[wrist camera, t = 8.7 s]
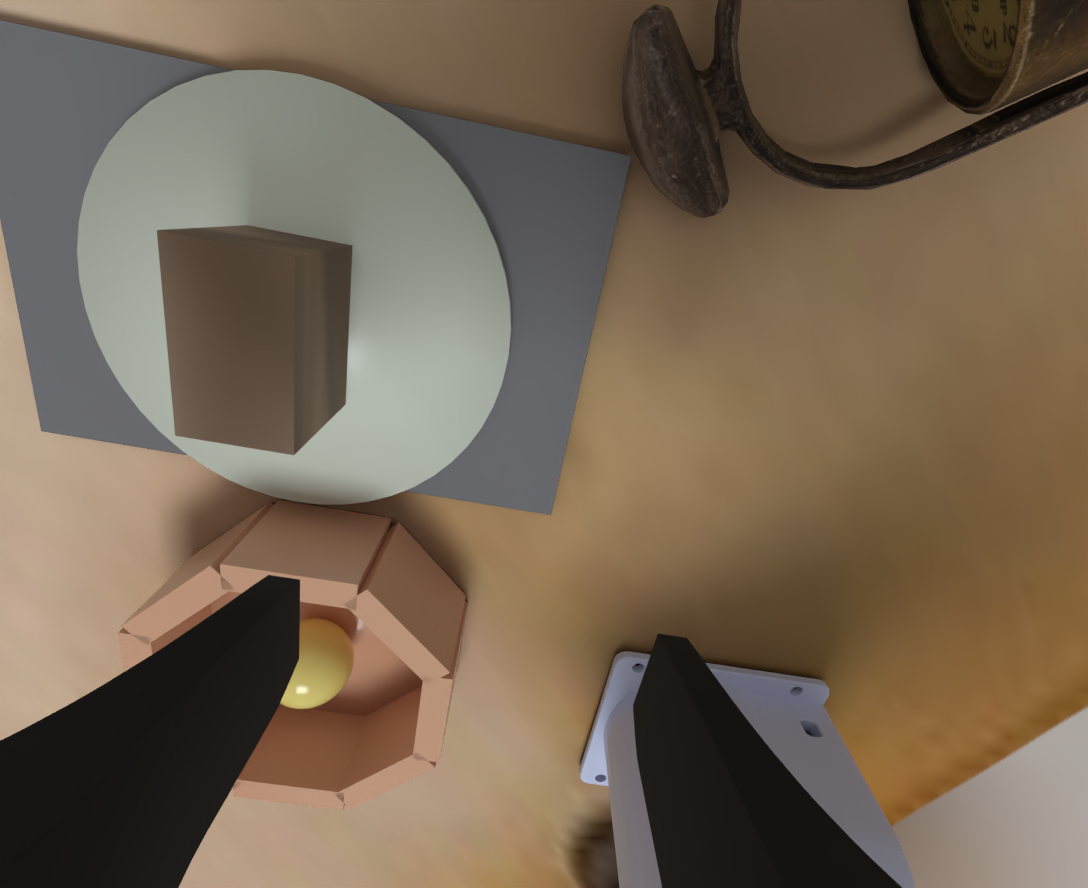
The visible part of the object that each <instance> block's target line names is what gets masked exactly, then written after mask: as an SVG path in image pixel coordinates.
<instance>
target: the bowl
mask: <svg viewBox="0 0 1088 888" xmlns="http://www.w3.org/2000/svg"><path fill="white" fill-rule="evenodd" d="M390 524H391V518H387V517H381V516H375V515H369V514H363V513H356V512H350V511H344V510H338V509H332V508H325V507H319V506H313V505H307V504H300V503H294V502H288V501H282V500H278V501H277V502H276V503H275V504H274V505H273V504H272V503H271V502H269V503H268V504H266V505H265V506H263V507H262V508H260V509H259V510H257V511H256V512H255V513H253V514H252V515H250V516H249V517H247V518H246V519H244V520H243V521H242V522H240V523H239V524H237V525H236V526H234V527H233V528H231V529H230V530H229V531H227V532H226V533H224V534H223V535H221V536H220V537H218V538H217V539H216V540H214V541H213V542H211V543H210V544H208V545H207V546H205V547H204V548H202V549H201V550H200V551H198V552H197V553H195V554H194V555H193V556H192V557H191V558H190V559H189V560H188V561H187V562H186V563H185V564H184V565H183V566H182V567H181V568H180V569H179V570H178V571H177V572H176V573H175V574H174V575H173V576H172V577H171V578H170V579H169V580H167V581H166V582H165V583H164V584H163V585H162V586H161V587H160V588H159V589H158V590H157V591H156V592H155V593H154V594H153V595H152V596H151V597H150V598H149V599H148V600H147V601H146V602H145V603H144V604H143V605H142V606H141V607H140V608H139V609H138V610H137V611H136V612H135V613H134V614H133V615H132V616H131V617H130V618H129V619H128V620H127V621H126V622H125V623H124V624H123V625H122V627H123V628H122V629H121V630H120V631H119V632H118V634H119V640H120V646H121V653H122V659H123V666H124V672H125V671H127V670H128V669H130V668H131V667H133V666H135V665H136V664H138V663H139V662H141V661H143V660H144V659H146V658H147V657H149V656H151V655H152V654H154V653H155V652H157V651H158V650H160V649H162V648H163V647H165V646H166V645H168V644H169V643H170V642H172V641H173V640H175V639H176V638H178V637H179V636H181V635H182V634H184V633H185V632H187V631H188V630H190V629H191V628H193V627H194V626H196V625H197V624H199V623H200V622H202V621H203V620H204V619H206V618H207V617H209V616H210V615H212V614H213V613H214V612H216V611H217V610H219V609H220V608H222V607H223V606H224V605H226V604H227V603H229V602H230V601H231V600H233V599H234V598H236V597H237V596H239V595H240V594H241V593H243V592H244V591H246V590H247V589H248V588H250V587H251V586H253V585H254V584H256V583H257V582H259V581H260V580H262V579H263V578H265V577H266V576H268V575H273V576H279V577H286V578H293V579H299V580H300V637H299V660H298V663H297V665H296V667H295V670H294V672H293V674H292V677H291V679H290V682H289V684H288V686H287V689H286V691H285V693H284V695H283V697H282V700H281V702H280V704H279V706H278V709H277V711H276V712H275V714H274V716H273V718H272V720H271V721H270V723H269V725H268V727H267V728H266V730H265V732H264V734H263V735H262V737H261V739H260V741H259V742H258V744H257V746H256V748H255V749H254V751H253V753H252V755H251V756H250V758H249V760H248V761H247V763H246V765H245V767H244V768H243V770H242V772H241V773H240V775H239V777H238V779H237V780H236V782H235V784H234V786H233V787H232V789H233V796H236V797H244V798H252V799H260V800H269V801H277V802H285V803H293V804H301V805H310V806H318V807H326V808H334V809H342V810H343V809H344V806H345V804H346V805H347V806H349V807H350V808H353V807H355V806H357V805H359V804H361V803H363V802H366V801H368V800H370V799H372V798H374V797H376V796H378V795H380V794H382V793H384V792H386V791H388V790H390V789H392V788H394V787H396V786H398V785H400V784H402V783H404V782H406V781H408V780H410V779H412V778H415V777H417V776H419V775H421V774H423V773H425V772H427V771H429V770H431V769H433V768H435V765H436V762H439V761H440V756H441V751H442V745H443V740H444V735H445V730H446V725H447V719H448V714H449V709H450V704H451V699H452V693H453V688H454V683H455V678H456V672H457V666H458V660H459V654H460V648H461V642H462V636H463V629H464V623H465V617H466V611H467V605H468V602H465V598H466V595H465V594H464V593H463V592H462V591H461V590H460V589H459V587H458V586H457V585H456V584H455V583H454V582H453V581H452V580H451V579H450V578H449V576H448V575H447V574H446V573H445V572H444V571H443V570H442V569H441V568H440V567H439V566H438V564H437V563H436V562H435V561H434V560H433V559H432V558H431V557H430V556H429V555H428V554H427V552H426V551H425V550H424V549H423V548H422V547H421V546H420V545H419V544H418V543H417V542H416V540H415V539H414V538H413V537H412V536H411V535H410V534H409V533H408V532H407V531H406V530H405V528H404V527H403V526H402V525H401V524H400V523H399V522H398V523H397V524H395V525H393V526H392V527H390ZM232 789H231V790H232Z"/></svg>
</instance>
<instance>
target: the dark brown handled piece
mask: <svg viewBox="0 0 1088 888" xmlns="http://www.w3.org/2000/svg"><path fill="white" fill-rule="evenodd" d="M741 2H742V0H718V5H717V10H716V15H715V44H714V58H713V60H712V62H711V65H710V67H709V68H707V69H705V70H703V71H699V70H696V69H695V67H694V64H693V62H692V60H691V57H690V55H689V52H688V50H687V47H686V45H685V43H684V40H683V38H682V35H681V33H680V30H679V28H678V26H677V23H676V21H675V18H674V16H673V13H672V11H671V10H670V9H669V8H668V7H664V6H660V5H654V6H652V7H650V8H648V9H647V10H646V11H645V12H644V13H643V14H642V15H641V16H640V17H639V18H638V19H637V20H635V21H634V23H633V27H632V30H631V34H630V37H629V40H628V44H627V47H626V51H625V54H624V65H623V83H622V102H623V112H624V119H625V124H626V129H627V134H628V138H629V141H630V144H631V147H632V149H633V151H634V152H635V154H636V155H637V157H638V159H639V160H640V162H641V164H642V165H643V167H644V169H645V170H646V172H647V174H648V175H649V177H650V179H651V180H652V182H653V184H654V185H655V187H656V188H657V189H658V190H659V191H660V192H662V193H663V194H664V195H665V196H666V197H668V198H669V199H670V200H671V201H672V202H674V203H675V204H676V205H677V206H678V207H680V208H681V209H683V210H685V211H687V212H689V213H691V214H693V215H695V216H697V217H701V218H705V217H709V216H713V215H715V214H717V213H719V212H721V210H722V209H723V207H724V206H725V204H726V203H727V202H728V196H729V187H728V183H727V178H726V174H725V169H724V165H723V161H722V156H721V151H720V145H719V136H720V135H721V134H722V133H724V132H725V131H727V130H732V131H736V132H737V134H738V135H739V136H740V138H741V139H742V140H743V142H744V143H745V144H746V146H747V147H748V148H749V150H750V151H751V152H752V154H754V155H755V156H756V157H757V158H758V159H760V160H761V161H762V162H763V163H765V164H766V165H767V166H768V167H769V168H771V169H772V170H773V171H774V172H776V173H777V174H780V175H782V176H784V177H787V178H789V179H791V180H794V181H796V182H799V183H801V184H803V185H806V186H811V187H818V188H828V189H864V190H870V189H874V188H877V187H881V186H885V185H889V184H893V183H897V182H901V181H904V180H908V179H911V178H913V177H916V176H918V175H921V174H924V173H926V172H929V171H932V170H934V169H937V168H940V167H942V166H944V165H946V164H949V163H951V162H953V161H955V160H958V159H960V158H962V157H965V156H967V155H969V154H971V153H974V152H976V151H978V150H980V149H983V148H985V147H987V146H989V145H992V144H994V143H996V142H999V141H1001V140H1003V139H1005V138H1008V137H1010V136H1012V135H1014V134H1017V133H1019V132H1021V131H1024V130H1026V129H1028V128H1030V127H1033V126H1035V125H1037V124H1039V123H1042V122H1044V121H1046V120H1048V119H1051V118H1053V117H1055V116H1057V115H1060V114H1062V113H1064V112H1066V111H1069V110H1071V109H1073V108H1075V107H1078V106H1080V105H1082V104H1084V103H1086V102H1088V72H1086V73H1084V74H1081V75H1079V76H1077V77H1074V78H1072V79H1069V80H1067V81H1065V82H1062V83H1060V84H1057V85H1055V86H1052V87H1050V88H1048V89H1045V90H1043V91H1041V92H1039V93H1036V94H1034V95H1032V96H1030V97H1028V98H1026V99H1024V100H1021V101H1019V102H1017V103H1015V104H1013V105H1011V106H1008V107H1006V108H1004V109H1002V110H1000V111H998V112H996V113H994V114H992V115H990V116H988V117H985V118H983V119H981V120H979V121H977V122H975V123H973V124H971V125H969V126H967V127H965V128H963V129H960V130H958V131H956V132H954V133H952V134H950V135H948V136H946V137H943V138H941V139H939V140H937V141H935V142H933V143H931V144H929V145H926V146H924V147H922V148H920V149H918V150H916V151H914V152H912V153H909V154H907V155H904V156H901V157H898V158H895V159H892V160H889V161H887V162H884V163H881V164H878V165H875V166H867V167H858V168H854V167H847V166H840V165H830V164H821V163H812V162H809V161H807V160H805V159H802V158H800V157H798V156H795V155H793V154H791V153H789V152H786V151H784V150H783V149H782V148H781V147H780V146H779V145H778V144H776V143H775V142H774V141H773V140H772V139H771V138H770V137H769V136H768V135H766V133H765V132H764V130H763V129H762V127H761V126H760V124H759V123H758V121H757V120H756V118H755V117H754V115H753V114H752V112H751V109H750V106H749V103H748V99H747V96H746V93H745V90H744V87H743V84H742V81H741V73H740V64H739V56H738V47H737V40H738V30H739V21H740V11H741ZM908 3H909V8H910V13H911V18H912V22H913V25H914V28H915V31H916V35H917V38H918V42H919V45H920V49H921V52H922V55H923V57H924V59H925V62H926V64H927V66H928V69H929V71H930V73H931V76H932V78H933V80H934V82H935V83H936V85H937V86H938V87H939V89H940V90H941V92H942V93H943V95H944V96H945V98H946V99H947V101H949V102H950V103H952V104H953V105H955V106H956V107H958V108H959V109H961V110H962V111H964V112H965V113H970V114H979V115H981V114H984V113H988V112H992V111H994V110H996V109H998V108H1001V107H1003V106H1005V105H1007V104H1009V103H1012V102H1014V101H1016V100H1018V99H1020V98H1023V97H1025V96H1027V95H1029V94H1032V93H1034V92H1036V91H1038V90H1040V89H1043V88H1045V87H1047V86H1049V85H1051V84H1054V83H1056V82H1058V81H1060V80H1063V79H1065V78H1067V77H1069V76H1071V75H1074V74H1076V73H1078V72H1080V71H1083V70H1085V69H1087V68H1088V0H908Z"/></svg>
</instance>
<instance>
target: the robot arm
mask: <svg viewBox="0 0 1088 888" xmlns="http://www.w3.org/2000/svg"><path fill="white" fill-rule="evenodd" d="M299 637H300V580H299V579H293V578H286V577H279V576H273V575H268V576H266V577H265V578H263V579H262V580H260V581H259V582H257V583H256V584H254V585H253V586H251V587H250V588H248V589H247V590H246V591H244V592H243V593H241V594H240V595H239V596H237V597H236V598H234V599H233V600H231V601H230V602H229V603H227V604H226V605H224V606H223V607H222V608H220V609H219V610H217V611H216V612H214V613H213V614H212V615H210V616H209V617H207V618H206V619H204V620H203V621H202V622H200V623H199V624H197V625H196V626H194V627H193V628H191V629H190V630H188V631H187V632H185V633H184V634H182V635H181V636H179V637H178V638H176V639H175V640H173V641H172V642H170V643H169V644H168V645H166V646H165V647H163V648H162V649H160V650H158V651H157V652H155V653H154V654H152V655H151V656H149V657H147V658H146V659H144V660H143V661H141V662H139V663H138V664H136V665H135V666H133V667H131V668H130V669H128V670H127V671H125V672H123V673H122V674H120V675H119V676H117V677H115V678H114V679H112V680H111V681H109V682H107V683H106V684H104V685H102V686H101V687H99V688H97V689H96V690H94V691H92V692H90V693H89V694H87V695H85V696H84V697H82V698H80V699H78V700H77V701H75V702H73V703H71V704H69V705H68V706H66V707H64V708H62V709H60V710H58V711H56V712H55V713H53V714H51V715H49V716H47V717H45V718H43V719H42V720H40V721H38V722H36V723H34V724H32V725H30V726H29V727H27V728H25V729H23V730H21V731H19V732H17V733H15V734H13V735H11V736H9V737H7V738H5V739H3V740H1V741H0V888H178V887H179V885H180V883H181V881H182V879H183V877H184V875H185V873H186V870H187V868H188V866H189V864H190V862H191V860H192V858H193V857H194V855H195V853H196V851H197V849H198V847H199V845H200V843H201V842H202V840H203V838H204V836H205V834H206V832H207V830H208V829H209V827H210V825H211V824H212V822H213V820H214V818H215V817H216V815H217V813H218V811H219V810H220V808H221V806H222V805H223V803H224V801H225V799H226V798H227V796H228V794H229V792H230V791H231V789H232V787H233V786H234V784H235V782H236V780H237V779H238V777H239V775H240V773H241V772H242V770H243V768H244V767H245V765H246V763H247V761H248V760H249V758H250V756H251V755H252V753H253V751H254V749H255V748H256V746H257V744H258V742H259V741H260V739H261V737H262V735H263V734H264V732H265V730H266V728H267V727H268V725H269V723H270V721H271V720H272V718H273V716H274V714H275V712H276V711H277V709H278V706H279V704H280V702H281V700H282V697H283V695H284V693H285V691H286V689H287V686H288V684H289V682H290V679H291V677H292V674H293V672H294V670H295V667H296V665H297V663H298V660H299ZM639 663H640V664H641V665H638V666H635V664H639ZM794 687H795V688H794ZM829 693H830V691H829V688H828V687H827V685H826V683H825V682H824V681H822V680H819V679H812V678H805V677H798V676H792V675H785V674H778V673H771V672H765V671H758V670H751V669H744V668H738V667H731V666H724V665H717V664H711V663H705V662H704V661H703V659H702V658H701V656H700V655H699V654H698V652H697V651H696V650H695V648H694V647H693V645H692V644H691V643H690V642H689V640H688V639H687V638H683V637H677V636H670V635H664V634H658V635H657V638H656V641H655V644H654V647H653V649H652V652H651V655H650V654H643V653H636V652H630V651H624V652H620V653H619V654H617V655H616V656H615V658H614V661H613V664H612V667H611V670H610V673H609V677H608V680H607V683H606V686H605V689H604V692H603V696H602V699H601V702H600V705H599V708H598V711H597V715H596V718H595V721H594V724H593V727H592V730H591V734H590V737H589V740H588V743H587V746H586V749H585V753H584V756H583V759H582V762H581V765H580V768H579V773H580V779H581V780H582V781H584V782H585V783H590V784H598V785H605V786H609V795H610V804H611V814H612V823H613V832H614V841H615V850H616V859H617V868H618V878H619V887H620V888H915V884H914V880H913V878H912V874H911V871H910V868H909V865H908V861H907V859H906V857H905V855H904V852H903V849H902V847H901V845H900V843H899V841H898V839H897V837H896V835H895V833H894V831H893V829H892V827H891V825H890V824H889V822H888V820H887V818H886V817H885V815H884V813H883V811H882V809H881V808H880V806H879V804H878V802H877V800H876V799H875V797H874V795H873V793H872V792H871V790H870V788H869V786H868V784H867V783H866V781H865V779H864V777H863V775H862V774H861V772H860V770H859V768H858V766H857V765H856V763H855V761H854V759H853V758H852V756H851V754H850V752H849V750H848V749H847V747H846V745H845V743H844V741H843V740H842V738H841V736H840V734H839V733H838V731H837V729H836V727H835V725H834V724H833V722H832V720H831V718H830V716H829V715H828V713H827V711H826V709H825V708H824V706H823V705H824V703H825V701H826V699H827V698H828V696H829Z"/></svg>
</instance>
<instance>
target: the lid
mask: <svg viewBox="0 0 1088 888" xmlns="http://www.w3.org/2000/svg"><path fill="white" fill-rule="evenodd" d="M77 257H78V270H79V281H80V286H81V291H82V295H83V300H84V305H85V309H86V312H87V315H88V318H89V321H90V324H91V327H92V330H93V333H94V336H95V338H96V340H97V342H98V345H99V347H100V349H101V351H102V353H103V355H104V357H105V359H106V361H107V363H108V365H109V367H110V368H111V370H112V372H113V373H114V375H115V377H116V378H117V380H118V381H119V383H120V385H121V386H122V388H123V389H124V391H125V392H126V393H127V394H128V396H129V397H130V398H131V400H132V401H133V402H134V404H135V405H136V406H137V407H138V409H139V410H140V411H141V412H142V413H143V414H144V415H145V417H146V418H147V419H148V420H149V421H150V422H151V423H152V424H153V425H154V426H155V427H156V428H157V429H158V430H159V431H160V432H161V433H162V434H163V435H164V436H165V437H167V438H168V439H169V440H170V441H171V442H172V443H173V444H175V445H176V446H177V447H178V448H179V449H180V450H182V451H183V452H185V453H186V454H187V455H189V456H190V457H192V458H193V459H194V460H196V461H197V462H199V463H200V464H202V465H203V466H205V467H207V468H208V469H210V470H212V471H214V472H215V473H217V474H219V475H221V476H222V477H224V478H226V479H228V480H230V481H233V482H235V483H237V484H239V485H242V486H244V487H246V488H248V489H251V490H254V491H257V492H260V493H263V494H266V495H269V496H272V497H276V498H281V499H286V500H290V501H295V502H301V503H311V504H321V505H339V504H354V503H361V502H369V501H373V500H377V499H381V498H385V497H389V496H393V495H395V494H398V493H400V492H403V491H405V490H408V489H410V488H413V487H415V486H417V485H418V484H420V483H422V482H424V481H425V480H427V479H429V478H431V477H433V476H434V475H435V474H437V473H438V472H439V471H441V470H442V469H443V468H445V467H446V466H447V465H449V464H450V463H451V462H452V461H453V460H454V459H455V458H456V457H457V456H458V455H459V454H460V453H461V452H462V451H463V450H464V449H465V448H466V447H467V446H468V445H469V444H470V442H471V441H472V440H473V439H474V437H475V436H476V435H477V433H478V432H479V431H480V429H481V428H482V426H483V424H484V423H485V421H486V419H487V417H488V415H489V414H490V412H491V410H492V408H493V406H494V404H495V401H496V398H497V396H498V393H499V391H500V388H501V385H502V382H503V378H504V374H505V370H506V365H507V361H508V357H509V350H510V339H511V329H512V327H511V301H510V295H509V288H508V282H507V276H506V272H505V268H504V265H503V261H502V258H501V255H500V251H499V248H498V245H497V242H496V240H495V238H494V236H493V233H492V231H491V229H490V226H489V224H488V222H487V219H486V217H485V215H484V214H483V212H482V210H481V209H480V207H479V205H478V203H477V202H476V200H475V198H474V197H473V195H472V193H471V191H470V190H469V188H468V187H467V186H466V185H465V183H464V182H463V181H462V179H461V178H460V177H459V175H458V174H457V173H456V171H455V170H454V169H453V167H452V166H451V165H450V164H449V163H448V162H447V161H446V159H445V158H444V157H443V156H442V155H441V154H440V153H439V152H438V151H437V150H436V149H435V148H434V147H433V146H432V145H431V144H430V143H429V142H428V141H427V140H426V139H425V138H423V137H422V136H421V135H420V134H418V133H417V132H416V131H415V130H413V129H412V128H411V127H410V126H408V125H407V124H406V123H405V122H403V121H402V120H401V119H399V118H398V117H396V116H395V115H393V114H391V113H390V112H388V111H386V110H385V109H383V108H382V107H380V106H378V105H377V104H375V103H373V102H372V101H370V100H368V99H367V98H365V97H363V96H360V95H358V94H356V93H354V92H351V91H349V90H347V89H345V88H342V87H340V86H338V85H336V84H333V83H329V82H326V81H323V80H319V79H316V78H312V77H309V76H305V75H302V74H295V73H288V72H280V71H273V70H235V71H230V72H224V73H218V74H213V75H207V76H203V77H200V78H198V79H195V80H192V81H189V82H186V83H184V84H181V85H178V86H176V87H174V88H172V89H170V90H169V91H167V92H165V93H163V94H162V95H160V96H158V97H156V98H155V99H153V100H151V101H150V102H148V103H147V104H146V105H145V106H144V107H142V108H141V109H140V110H139V111H138V112H136V113H135V114H134V115H133V116H132V117H130V118H129V119H128V120H127V121H126V122H125V124H124V125H123V126H122V127H121V128H120V130H119V131H118V132H117V133H116V134H115V136H114V137H113V138H112V139H111V140H110V142H109V143H108V145H107V146H106V148H105V150H104V152H103V153H102V155H101V157H100V159H99V160H98V162H97V164H96V165H95V167H94V170H93V173H92V175H91V178H90V181H89V183H88V186H87V189H86V191H85V194H84V199H83V204H82V208H81V213H80V218H79V225H78V243H77Z"/></svg>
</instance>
